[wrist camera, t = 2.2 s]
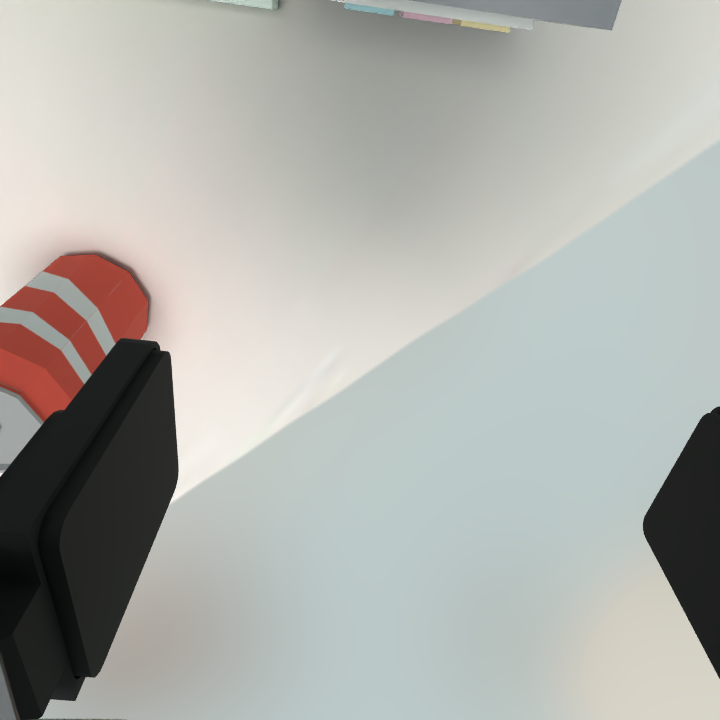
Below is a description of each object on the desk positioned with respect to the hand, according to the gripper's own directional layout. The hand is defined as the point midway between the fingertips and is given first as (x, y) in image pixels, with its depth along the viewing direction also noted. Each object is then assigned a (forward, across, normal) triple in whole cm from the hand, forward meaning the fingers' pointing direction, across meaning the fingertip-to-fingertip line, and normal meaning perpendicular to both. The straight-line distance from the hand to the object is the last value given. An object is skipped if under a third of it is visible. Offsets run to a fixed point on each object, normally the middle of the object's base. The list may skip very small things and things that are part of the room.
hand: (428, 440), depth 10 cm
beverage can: (+22, +16, +10) cm, 29 cm away
